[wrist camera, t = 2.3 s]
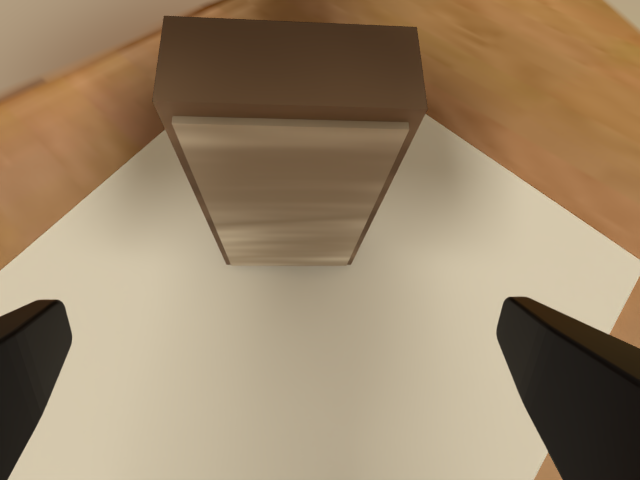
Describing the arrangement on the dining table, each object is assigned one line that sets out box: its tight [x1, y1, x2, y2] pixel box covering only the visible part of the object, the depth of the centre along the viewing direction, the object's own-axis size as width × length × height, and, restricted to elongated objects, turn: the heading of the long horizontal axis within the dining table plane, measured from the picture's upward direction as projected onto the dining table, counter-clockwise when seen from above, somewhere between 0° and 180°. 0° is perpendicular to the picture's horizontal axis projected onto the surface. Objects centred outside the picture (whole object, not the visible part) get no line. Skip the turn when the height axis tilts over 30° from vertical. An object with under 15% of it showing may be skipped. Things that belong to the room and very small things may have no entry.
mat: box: [0, 114, 640, 480], centre depth 20 cm, size 28×24×1 cm
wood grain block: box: [152, 16, 428, 266], centre depth 15 cm, size 3×6×12 cm, turn 91°
